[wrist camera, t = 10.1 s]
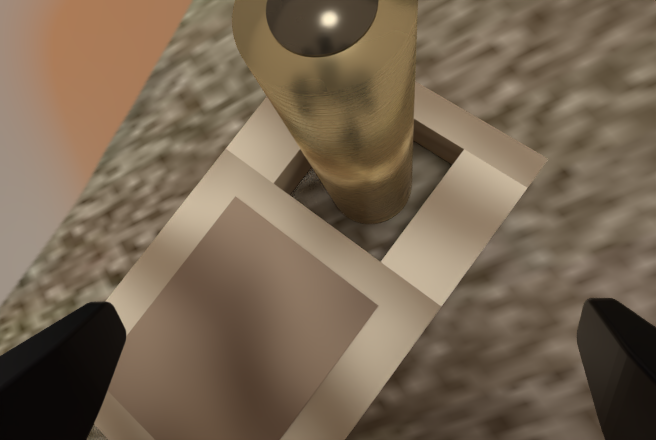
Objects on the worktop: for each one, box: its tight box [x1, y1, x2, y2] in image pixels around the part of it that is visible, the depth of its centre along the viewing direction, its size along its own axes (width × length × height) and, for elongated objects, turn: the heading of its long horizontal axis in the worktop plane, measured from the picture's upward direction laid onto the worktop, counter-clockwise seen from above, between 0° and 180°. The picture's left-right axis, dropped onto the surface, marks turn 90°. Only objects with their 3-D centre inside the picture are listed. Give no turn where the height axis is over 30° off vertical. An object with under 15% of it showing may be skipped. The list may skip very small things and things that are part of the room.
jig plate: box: [94, 81, 548, 440], centre depth 20 cm, size 20×12×3 cm, turn 142°
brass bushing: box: [232, 0, 418, 224], centre depth 16 cm, size 4×4×13 cm
